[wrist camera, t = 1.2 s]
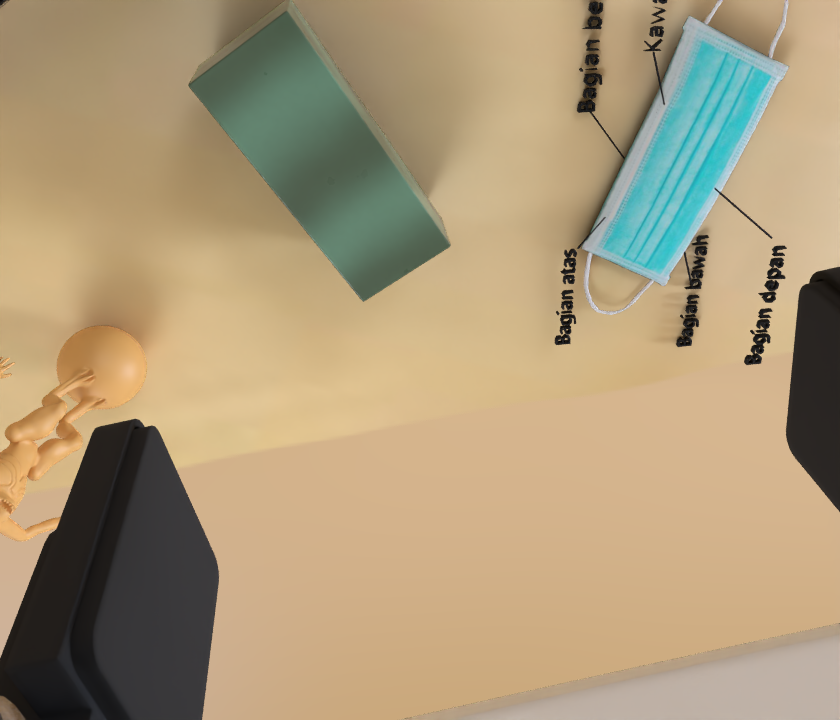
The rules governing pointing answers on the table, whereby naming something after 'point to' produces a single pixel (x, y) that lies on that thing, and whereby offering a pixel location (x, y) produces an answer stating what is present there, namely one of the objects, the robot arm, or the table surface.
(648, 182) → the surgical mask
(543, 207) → the table surface
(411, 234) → the teal sanding sponge
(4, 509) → the figurine
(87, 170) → the table surface
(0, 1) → the rack
